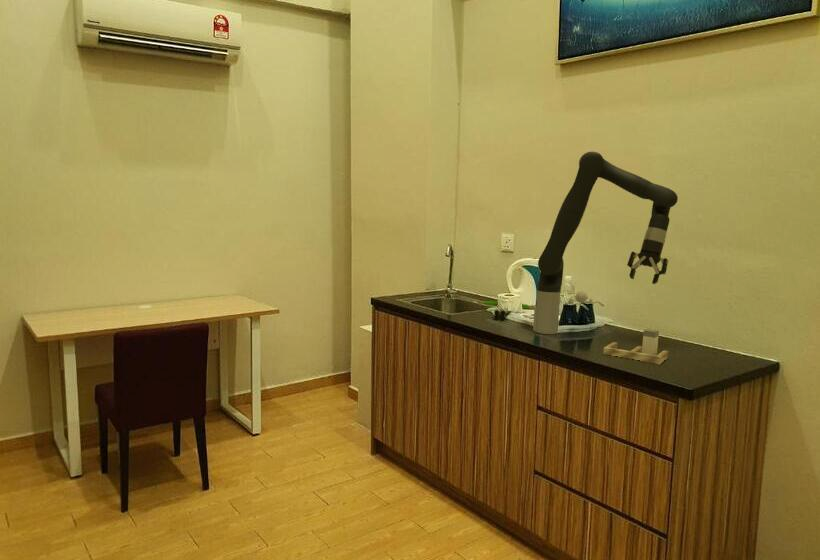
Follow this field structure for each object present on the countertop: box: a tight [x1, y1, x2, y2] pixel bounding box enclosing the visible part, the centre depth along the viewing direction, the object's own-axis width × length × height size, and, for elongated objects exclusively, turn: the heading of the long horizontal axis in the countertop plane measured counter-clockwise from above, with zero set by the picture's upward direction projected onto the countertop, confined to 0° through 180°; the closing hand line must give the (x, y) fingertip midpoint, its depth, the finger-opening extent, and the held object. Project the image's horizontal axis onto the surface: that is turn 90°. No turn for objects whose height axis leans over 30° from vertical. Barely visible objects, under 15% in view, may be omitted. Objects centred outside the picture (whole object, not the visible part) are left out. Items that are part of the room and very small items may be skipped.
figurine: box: [476, 300, 537, 321], centre depth 298 cm, size 28×6×30 cm
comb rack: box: [602, 341, 669, 365], centre depth 230 cm, size 20×12×2 cm, turn 56°
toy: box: [567, 290, 594, 305], centre depth 281 cm, size 11×7×15 cm, turn 84°
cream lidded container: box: [641, 328, 660, 356], centre depth 228 cm, size 4×4×10 cm
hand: (642, 281), depth 248 cm, fingers open, 8 cm apart
